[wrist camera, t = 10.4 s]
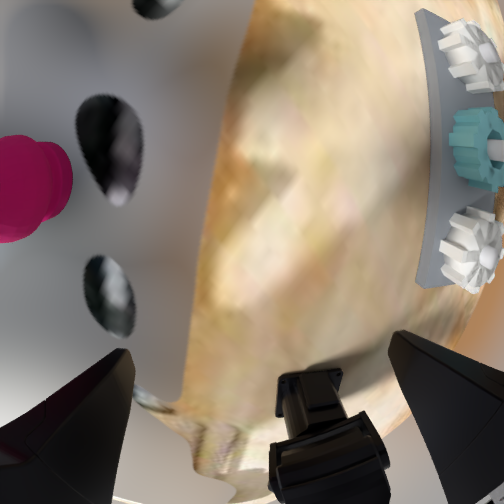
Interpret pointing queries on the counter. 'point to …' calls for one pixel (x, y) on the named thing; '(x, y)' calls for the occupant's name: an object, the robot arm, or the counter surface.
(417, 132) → the counter surface
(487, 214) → the gear board
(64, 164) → the pepper mill
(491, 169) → the teal gear
